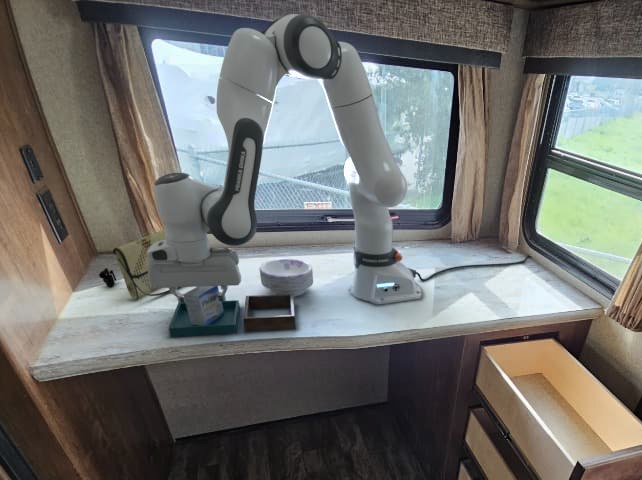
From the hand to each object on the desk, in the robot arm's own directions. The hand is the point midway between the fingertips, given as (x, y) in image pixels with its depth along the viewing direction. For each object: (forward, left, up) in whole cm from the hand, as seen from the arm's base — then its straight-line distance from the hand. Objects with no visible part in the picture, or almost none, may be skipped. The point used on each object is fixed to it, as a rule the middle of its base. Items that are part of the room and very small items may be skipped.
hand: (202, 301), depth 111 cm
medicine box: (0, 0, -6) cm, 6 cm away
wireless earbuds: (+29, -25, -6) cm, 39 cm away
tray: (0, 0, -6) cm, 6 cm away
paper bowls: (-21, -17, -6) cm, 28 cm away
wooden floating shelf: (-16, 0, -6) cm, 17 cm away
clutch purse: (+12, -25, -6) cm, 29 cm away
